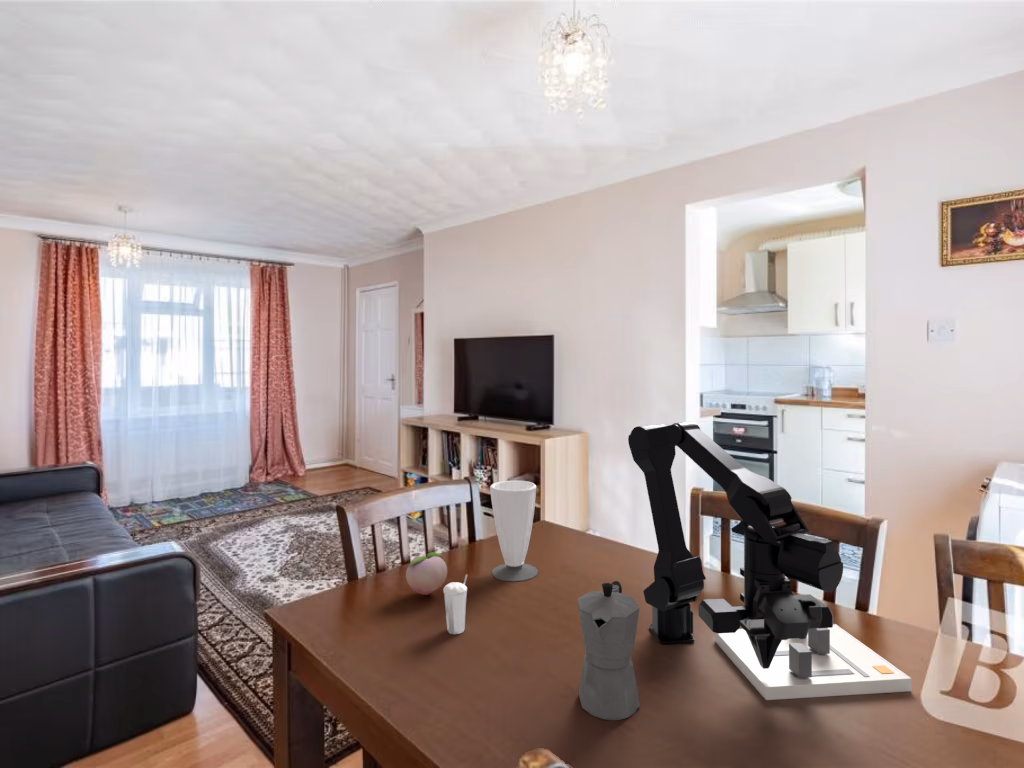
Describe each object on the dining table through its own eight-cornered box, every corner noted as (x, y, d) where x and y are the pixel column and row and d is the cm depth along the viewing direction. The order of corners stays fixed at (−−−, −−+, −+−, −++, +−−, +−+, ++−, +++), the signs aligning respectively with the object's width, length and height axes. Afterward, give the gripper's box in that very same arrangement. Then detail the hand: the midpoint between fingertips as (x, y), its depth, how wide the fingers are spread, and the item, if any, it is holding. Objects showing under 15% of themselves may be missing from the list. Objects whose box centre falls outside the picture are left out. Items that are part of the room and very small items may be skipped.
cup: (538, 581, 124) (537, 490, 123) (490, 582, 124) (488, 491, 123) (537, 563, 135) (535, 479, 135) (492, 563, 135) (490, 480, 135)
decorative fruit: (428, 608, 111) (427, 561, 111) (400, 599, 115) (399, 554, 115) (456, 591, 119) (455, 547, 119) (428, 584, 123) (427, 541, 123)
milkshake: (475, 628, 102) (474, 577, 102) (454, 639, 98) (453, 586, 98) (460, 620, 105) (459, 571, 105) (439, 631, 101) (438, 579, 101)
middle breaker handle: (818, 654, 87) (818, 630, 87) (808, 645, 90) (808, 622, 89) (829, 653, 87) (829, 629, 87) (819, 645, 90) (819, 622, 90)
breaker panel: (766, 700, 79) (766, 686, 79) (714, 641, 96) (714, 629, 96) (911, 691, 81) (911, 677, 80) (835, 634, 98) (835, 623, 97)
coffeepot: (633, 737, 72) (632, 607, 71) (566, 721, 75) (564, 597, 74) (647, 675, 86) (647, 566, 85) (591, 664, 89) (589, 559, 89)
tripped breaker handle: (799, 678, 81) (799, 652, 80) (789, 668, 83) (789, 643, 83) (811, 677, 81) (811, 651, 81) (801, 667, 83) (801, 642, 83)
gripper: (730, 593, 72) (730, 704, 73) (860, 586, 74) (859, 696, 74) (696, 562, 83) (697, 659, 84) (810, 557, 85) (809, 653, 85)
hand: (764, 667), depth 81 cm, fingers closed
